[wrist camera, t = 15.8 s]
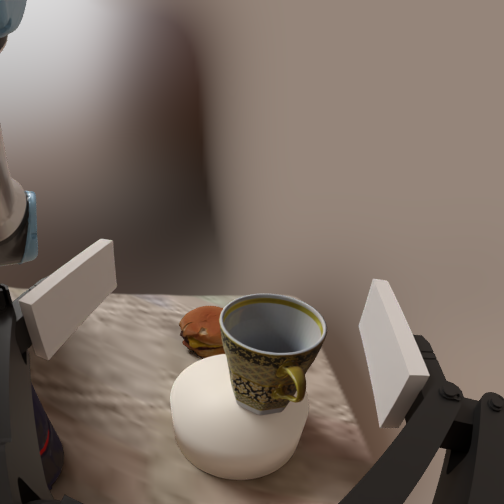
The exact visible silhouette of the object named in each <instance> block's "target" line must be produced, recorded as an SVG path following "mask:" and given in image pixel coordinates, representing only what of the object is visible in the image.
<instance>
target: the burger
mask: <svg viewBox="0 0 504 504" xmlns="http://www.w3.org/2000/svg"><path fill="white" fill-rule="evenodd" d="M222 310H223V308H220V307H216V306H203V307H199V308H196V309H194V310H192V311H190V312H189V313H187V314H186V315H185V316H184V317H183V318H182V320H181V321H180V324H179V326H180V327H181V330H182V331H181V333H180V336H182V338H183V339H184V341H183V345H185V346H187V347H188V348H189V349H190V350H194V351H195V352H196V353H197V354H198V355H199V356H201V357H205V358H207V357H211V356H215V355H220V354H225V351H224V348H223V343H222V337H221V331H220V322H219V318H220V314H221V312H222Z"/></svg>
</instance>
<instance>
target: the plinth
mask: <svg viewBox="0 0 504 504" xmlns="http://www.w3.org/2000/svg"><path fill="white" fill-rule="evenodd" d="M294 396H295V397H297V391H296V393H295V395H294ZM170 403H171V411H172V419H173V426H174V433H175V439H176V442H177V445H178V447H179V448H180V450H181V452H182V453H183V455H184V456H185V457H186V458H187V459H188V460H189V461H190V462H191V463H192V464H193V465H195V466H196V467H197V468H199V469H201V470H202V471H204V472H206V473H208V474H211V475H213V476H217V477H220V478H224V479H231V480H248V479H255V478H259V477H263V476H266V475H268V474H270V473H272V472H275V471H276V470H278V469H279V468H281V467H282V466H283V465H284V464H285V463H287V462H288V460H289V459H290V458H291V457H292V455H293V454H294V452H295V450H296V447H297V445H298V442H299V439H300V437H301V434H302V431H303V428H304V425H305V422H306V419H307V416H308V412H309V399H308V395H307V392H305V396H304V399H303V400H302V401H301V402H297V403H294V402H291V401H290V402H289V403H288V405H287V406H286V408H285V409H284V410H283V411H282V412H279V413H273V414H267V415H257V414H255V413H253V412H251V411H249V410H247V409H245V408H243V407H241V406H239V405H238V404H237V403H236V400H235V396H234V393H233V390H232V386H231V381H230V374H229V369H228V363H227V357H226V354H220V355H215V356H211V357H207V358H204V359H202V360H199V361H197V362H195V363H193V364H192V365H190V366H189V367H187V368H186V369H185V370H184V371H183V372H182V373H181V374H180V375H179V376H178V377H177V379H176V380H175V382H174V384H173V387H172V390H171V394H170Z"/></svg>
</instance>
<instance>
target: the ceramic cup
mask: <svg viewBox="0 0 504 504" xmlns="http://www.w3.org/2000/svg"><path fill="white" fill-rule="evenodd" d="M219 322H220V331H221V337H222V343H223V348H224V351H225V354H226V357H227V363H228V369H229V374H230V381H231V386H232V390H233V393H234V396H235V400H236V403H237V404H238V405H239V406H241V407H243V408H245V409H247V410H249V411H251V412H253V413H255V414H257V415H267V414H273V413H279V412H282V411H283V410H284V409H285V408H286V406H287V405H288V403H289V402H290V401H291V402H294V403H297V402H301V401H302V400H303V399H304V396H305V392H306V379H305V374H306V372H307V370H308V369H309V367H310V366H311V364H312V363H313V361H314V360H315V358H316V356H317V354H318V352H319V351H320V349H321V346H322V344H323V342H324V340H325V337H326V334H327V325H326V322H325V320H324V318H323V317H322V315H321V314H320V313H319V312H318V311H317V310H316V309H314V308H313V307H312V306H310V305H308V304H306V303H305V302H302V301H300V300H297V299H295V298H292V297H288V296H284V295H277V294H252V295H247V296H243V297H240V298H237V299H235V300H233V301H231V302H230V303H228V304H227V305H226V306H225V307H224V308H223V310H222V312H221V314H220V318H219ZM296 391H297V397H295V396H294V395H295V393H296Z"/></svg>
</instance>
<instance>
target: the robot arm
mask: <svg viewBox="0 0 504 504" xmlns="http://www.w3.org/2000/svg"><path fill="white" fill-rule="evenodd" d="M26 1H27V0H0V53H1V51H2V50H3V48H4V47H5V45H6V42H7V35H8V34H9V33H11V32H13V31H14V30H16V29H17V28H18V26H19V24H20V22H21V20H22V17H23V14H24V10H25V6H26ZM37 254H38V243H37V217H36V195H35V193H34V192H29V191H24V190H23V188H22V187H21V185H20V184H19V183H18V182H17V181H15V180H14V179H12V178H11V175H10V171H9V167H8V162H7V157H6V153H5V148H4V143H3V137H2V131H1V125H0V266H5V265H11V264H17V263H18V264H22V263H23V262H27V261H31V260H34V259H35V258H36V256H37ZM116 287H117V284H116V274H115V263H114V251H113V241H112V240H105V239H100V240H98V241H97V242H96V243H94V244H93V245H91V246H90V247H88V248H87V249H85V250H84V251H83V252H81V253H80V254H79V255H77V256H76V257H75V258H73V259H72V260H70V261H69V262H67V263H66V264H65V265H63V266H62V267H61V268H60V269H58V270H57V271H55V272H54V273H53V274H51V275H50V276H48V277H46V278H43V279H41V280H40V281H38V282H37V283H36V284H35V285H34V286H32V287H31V288H29V290H27V291H26V292H24V293H23V294H22V295H20V296H19V297H18V298H17V299H16V300H14V301H13V302H12V300H11V296H10V292H9V289H8V286H7V285H4V284H0V504H83V503H81V502H79V501H77V500H75V499H73V498H70V497H68V496H66V495H64V497H63V498H62V500H61V501H60V500H54V498H53V496H52V495H51V493H50V491H49V489H48V487H47V484H46V480H45V475H44V471H43V466H42V461H41V456H40V451H39V445H38V439H37V433H36V426H35V419H34V410H33V401H32V390H31V376H30V356H29V352H28V350H27V349H28V348H29V347H30V346H31V345H32V346H33V349H34V351H35V354H36V355H37V356H39V357H41V358H44V359H46V360H48V361H49V359H50V358H51V357H52V356H53V355H54V354H55V353H56V351H57V350H58V349H59V348H60V347H61V346H62V345H63V344H64V343H65V341H66V340H67V339H68V338H69V337H70V336H71V335H72V334H73V333H74V332H75V330H76V329H77V328H78V327H79V326H80V325H81V324H82V323H83V322H84V321H85V320H86V319H87V317H88V316H89V315H90V314H91V313H92V312H93V311H94V310H95V309H96V308H97V307H98V306H99V305H100V304H101V303H102V302H103V301H104V300H105V298H106V297H107V296H108V295H109V294H110V293H111V292H112V291H113V290H114V289H115V288H116ZM359 329H360V333H361V337H362V342H363V346H364V350H365V354H366V359H367V364H368V368H369V373H370V378H371V382H372V388H373V393H374V398H375V403H376V408H377V414H378V420H379V425H380V428H399V426H400V425H401V423H402V422H403V420H404V419H405V420H406V425H405V427H404V428H403V429H402V431H401V432H400V433H399V435H398V436H397V437H396V439H395V440H394V441H393V442H392V444H391V445H390V446H389V447H388V449H387V450H386V451H385V452H384V454H383V455H382V456H381V457H380V458H379V460H378V461H377V462H376V463H375V464H374V466H373V467H372V468H371V469H370V470H369V471H368V472H367V474H366V475H365V476H364V477H363V478H362V479H361V480H360V481H359V482H358V484H357V485H356V486H355V487H354V488H353V489H352V490H351V491H350V492H349V493H348V494H347V495H346V496H345V497H344V498H343V499H342V500H341V501H340V502H339V503H338V504H403V503H404V502H405V500H406V498H407V497H408V496H409V494H410V493H411V492H412V490H413V489H414V487H415V486H416V484H417V482H418V481H419V480H420V478H421V477H422V475H423V474H424V472H425V470H426V469H427V467H428V466H429V464H430V462H431V460H432V459H433V457H434V456H435V454H436V452H437V450H438V449H439V448H444V449H446V454H445V458H444V463H443V467H442V471H441V475H440V478H439V482H438V486H437V489H436V493H435V496H434V499H433V503H432V504H504V398H503V397H502V396H500V395H498V394H496V393H492V392H488V393H485V394H484V395H483V396H482V398H481V399H480V400H479V401H476V400H472V399H468V398H464V397H463V394H462V391H461V390H460V389H459V387H457V386H456V385H455V384H453V383H451V382H448V381H446V379H445V376H444V374H443V372H442V370H441V367H440V365H439V363H438V361H437V360H436V356H435V354H434V353H433V350H432V348H431V346H430V343H429V342H428V341H427V340H425V338H424V337H423V336H422V335H421V336H420V335H413V334H412V332H411V330H410V327H409V325H408V323H407V321H406V319H405V317H404V314H403V312H402V310H401V308H400V306H399V304H398V301H397V299H396V297H395V295H394V293H393V291H392V289H391V287H390V285H389V283H388V281H386V280H379V279H373V281H372V284H371V288H370V291H369V294H368V298H367V301H366V304H365V308H364V311H363V314H362V317H361V321H360V324H359Z"/></svg>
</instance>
